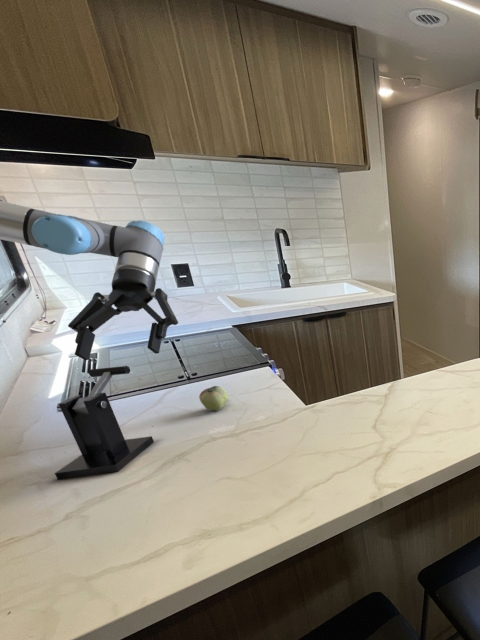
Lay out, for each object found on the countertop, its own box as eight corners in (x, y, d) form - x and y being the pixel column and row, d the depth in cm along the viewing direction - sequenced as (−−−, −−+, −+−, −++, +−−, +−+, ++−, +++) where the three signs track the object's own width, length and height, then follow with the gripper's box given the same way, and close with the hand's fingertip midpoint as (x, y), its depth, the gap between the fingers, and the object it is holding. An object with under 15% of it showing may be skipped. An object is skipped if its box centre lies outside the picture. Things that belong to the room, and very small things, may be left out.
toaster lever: (97, 374, 86) (90, 366, 84) (132, 371, 87) (125, 363, 86) (67, 418, 78) (58, 410, 76) (106, 413, 79) (98, 405, 77)
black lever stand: (102, 448, 87) (76, 390, 82) (154, 442, 89) (131, 384, 84) (57, 480, 76) (24, 414, 71) (118, 471, 78) (90, 406, 73)
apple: (230, 400, 110) (224, 380, 108) (231, 409, 104) (224, 388, 102) (204, 406, 107) (197, 385, 105) (203, 416, 101) (196, 394, 99)
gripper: (201, 283, 102) (191, 355, 94) (87, 291, 98) (65, 368, 89) (184, 263, 96) (171, 339, 87) (61, 270, 91) (34, 351, 82)
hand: (117, 354), depth 88 cm, fingers open, 13 cm apart
